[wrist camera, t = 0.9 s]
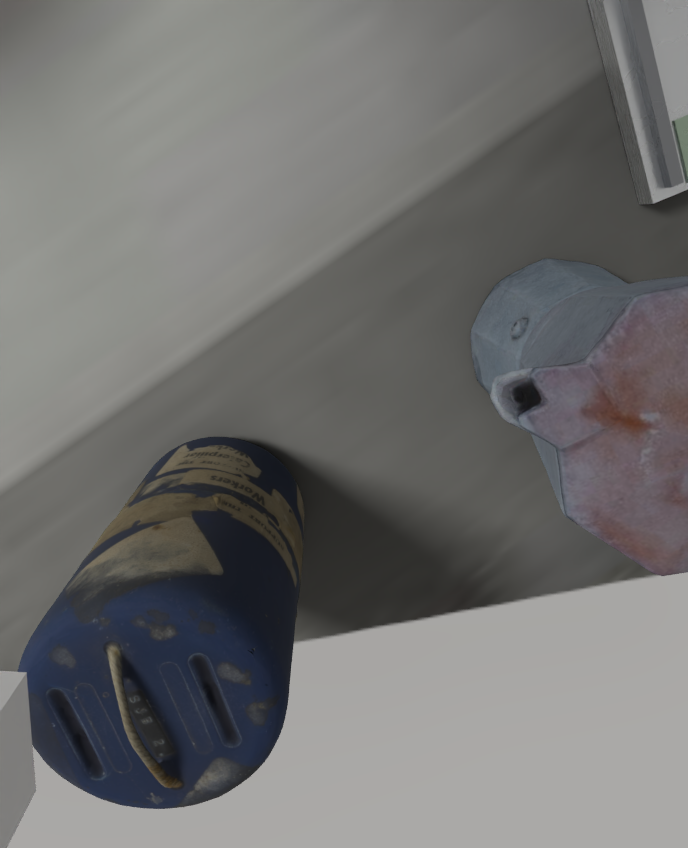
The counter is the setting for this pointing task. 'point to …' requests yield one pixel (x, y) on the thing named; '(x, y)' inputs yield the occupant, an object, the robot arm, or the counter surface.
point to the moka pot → (598, 397)
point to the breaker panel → (648, 88)
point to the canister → (175, 633)
